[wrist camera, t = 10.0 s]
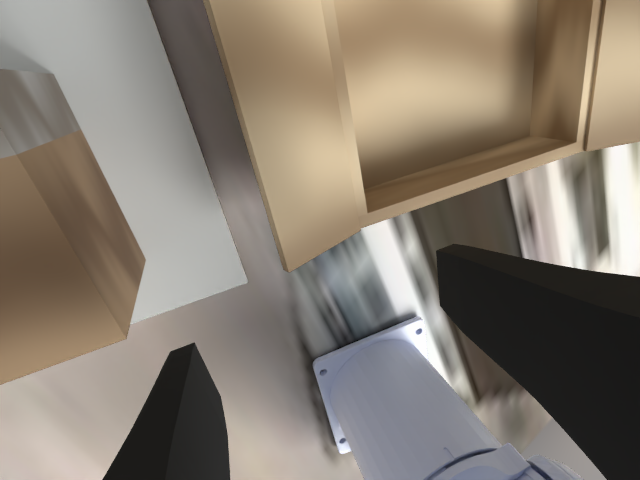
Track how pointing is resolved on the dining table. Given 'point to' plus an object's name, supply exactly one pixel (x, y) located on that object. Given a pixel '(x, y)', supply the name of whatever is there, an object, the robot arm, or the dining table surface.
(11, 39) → the grey mat
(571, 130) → the carton
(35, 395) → the dining table surface
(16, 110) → the block
